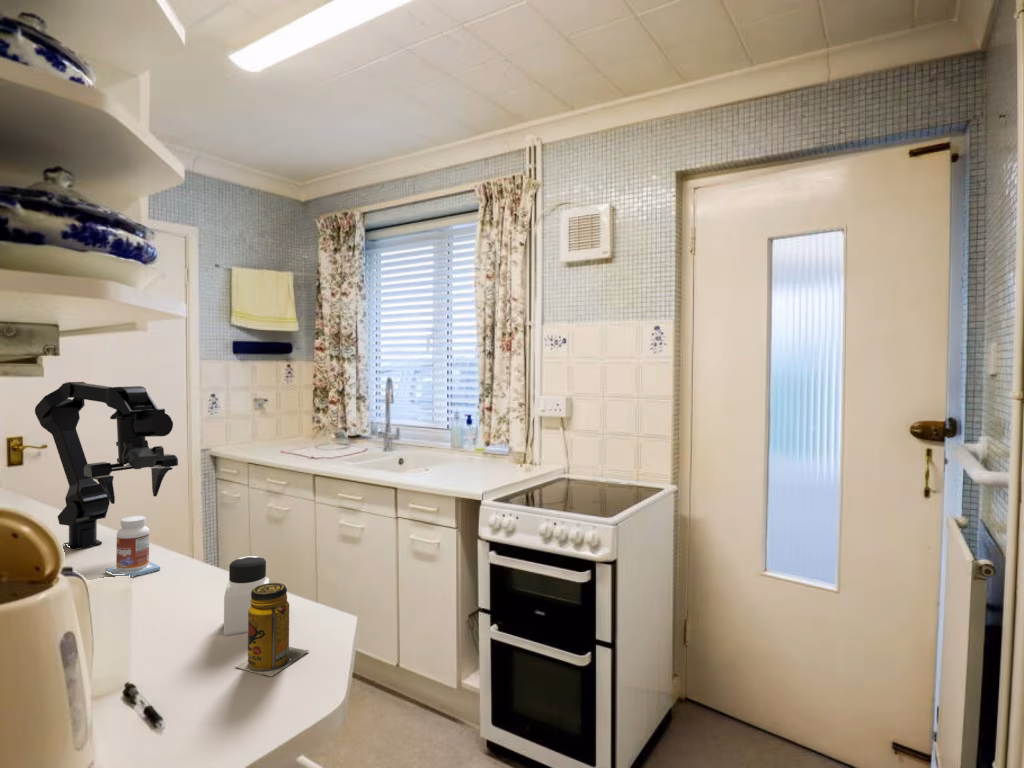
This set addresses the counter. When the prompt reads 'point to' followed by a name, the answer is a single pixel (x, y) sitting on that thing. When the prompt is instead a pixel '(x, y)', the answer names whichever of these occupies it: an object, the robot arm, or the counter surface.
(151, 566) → the coaster
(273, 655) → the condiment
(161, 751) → the counter surface
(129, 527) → the pill bottle
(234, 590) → the medicine bottle
